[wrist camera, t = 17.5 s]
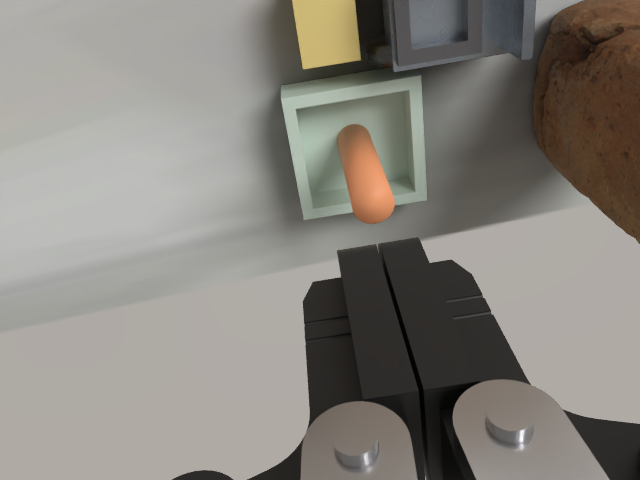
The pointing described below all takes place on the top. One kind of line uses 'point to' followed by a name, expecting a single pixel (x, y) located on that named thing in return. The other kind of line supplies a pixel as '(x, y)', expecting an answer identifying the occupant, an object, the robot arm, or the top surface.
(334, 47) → the block
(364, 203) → the pin
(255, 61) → the top surface
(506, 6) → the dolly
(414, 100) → the tray
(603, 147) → the brown rounded block
